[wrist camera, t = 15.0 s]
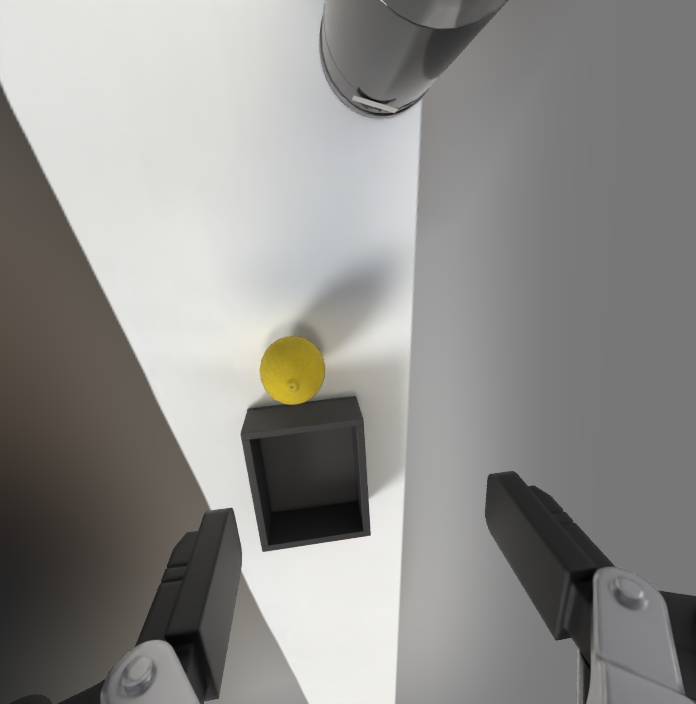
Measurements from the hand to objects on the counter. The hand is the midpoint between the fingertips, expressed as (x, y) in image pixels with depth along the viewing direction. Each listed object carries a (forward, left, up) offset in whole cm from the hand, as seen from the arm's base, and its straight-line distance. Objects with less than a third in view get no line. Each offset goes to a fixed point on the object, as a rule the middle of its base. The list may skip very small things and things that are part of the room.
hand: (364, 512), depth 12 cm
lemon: (+3, -3, -25) cm, 26 cm away
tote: (+15, -3, -25) cm, 29 cm away
